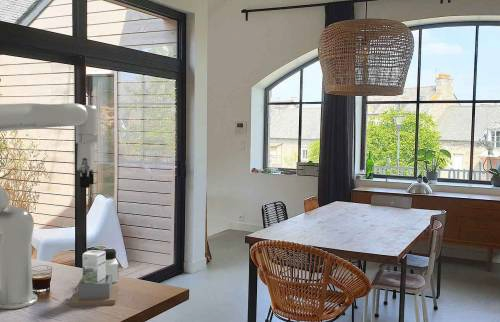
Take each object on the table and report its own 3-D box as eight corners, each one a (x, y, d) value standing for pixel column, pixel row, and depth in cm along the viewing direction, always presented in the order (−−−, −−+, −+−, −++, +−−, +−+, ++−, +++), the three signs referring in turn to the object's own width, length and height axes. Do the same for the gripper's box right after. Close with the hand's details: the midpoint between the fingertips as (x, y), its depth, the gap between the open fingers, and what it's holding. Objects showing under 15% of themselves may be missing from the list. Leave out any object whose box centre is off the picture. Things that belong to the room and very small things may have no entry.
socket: (70, 306, 160) (70, 286, 160) (77, 292, 174) (77, 273, 173) (115, 304, 163) (115, 285, 162) (118, 290, 176) (118, 272, 176)
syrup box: (106, 291, 170) (106, 250, 169) (97, 297, 164) (97, 254, 163) (91, 290, 171) (91, 249, 170) (82, 296, 166) (81, 253, 165)
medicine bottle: (118, 282, 185) (118, 250, 184) (98, 284, 183) (98, 252, 182) (116, 276, 192) (116, 246, 191) (97, 278, 189) (96, 247, 188)
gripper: (79, 138, 188) (80, 183, 189) (71, 139, 171) (72, 189, 172) (100, 138, 189) (100, 183, 190) (94, 140, 172) (94, 188, 173)
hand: (87, 185), depth 181 cm, fingers open, 9 cm apart
